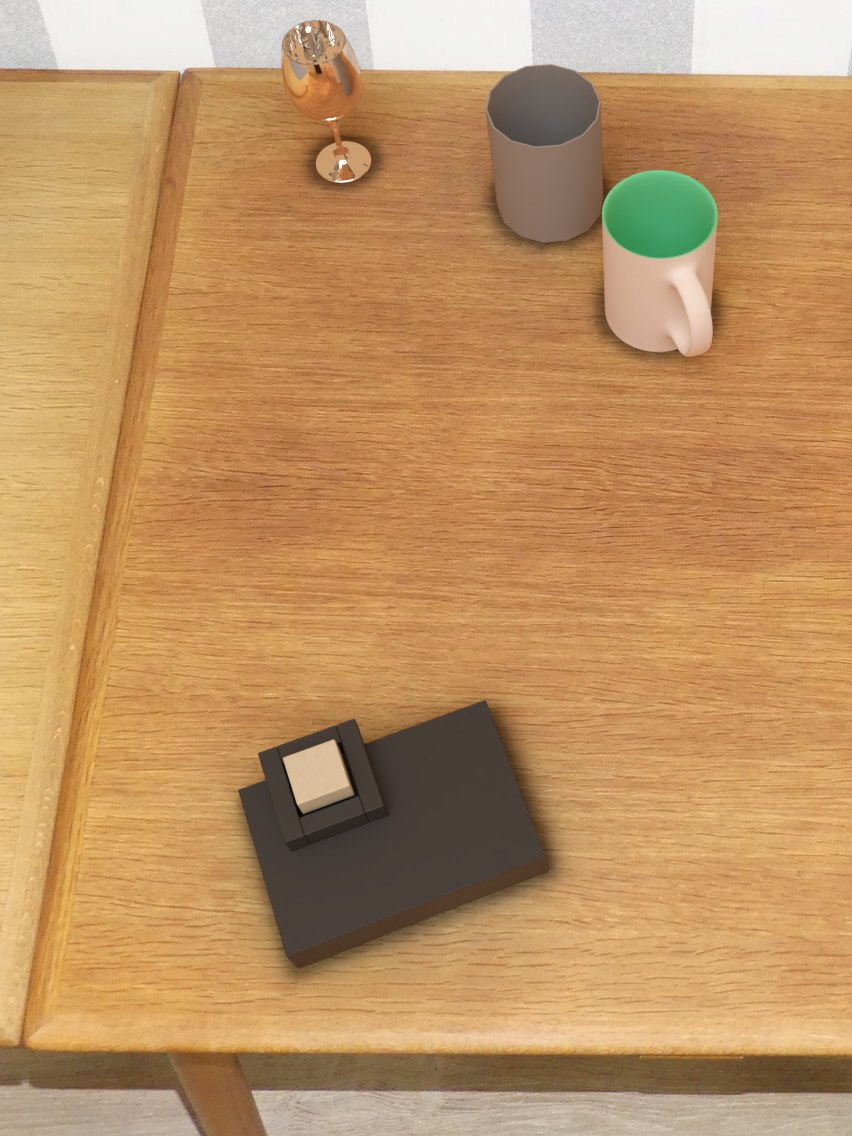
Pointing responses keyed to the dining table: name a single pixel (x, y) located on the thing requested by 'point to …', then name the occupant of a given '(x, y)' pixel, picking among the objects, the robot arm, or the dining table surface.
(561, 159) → the cup
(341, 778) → the square button
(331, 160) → the wineglass
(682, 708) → the dining table surface
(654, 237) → the mug
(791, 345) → the dining table surface
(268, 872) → the button panel
